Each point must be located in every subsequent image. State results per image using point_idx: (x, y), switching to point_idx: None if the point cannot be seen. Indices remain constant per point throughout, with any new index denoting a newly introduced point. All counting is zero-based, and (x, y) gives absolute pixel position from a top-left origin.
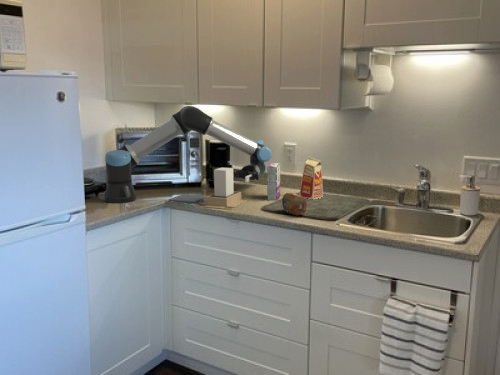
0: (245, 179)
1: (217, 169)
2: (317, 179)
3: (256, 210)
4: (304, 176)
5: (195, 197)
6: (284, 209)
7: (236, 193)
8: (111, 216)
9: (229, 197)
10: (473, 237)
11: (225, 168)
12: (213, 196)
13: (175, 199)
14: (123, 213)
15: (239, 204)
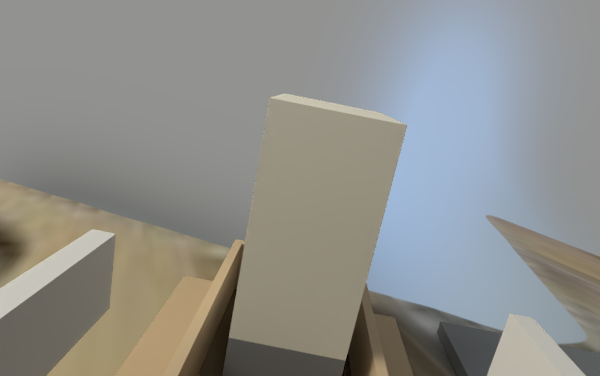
0: (106, 269)
1: (367, 111)
2: None
3: (56, 244)
4: None
5: None
6: None
7: (198, 328)
8: (505, 232)
9: (226, 256)
10: None
11: (333, 107)
12: (358, 314)
13: (583, 356)
14: (514, 246)
15: (156, 316)
